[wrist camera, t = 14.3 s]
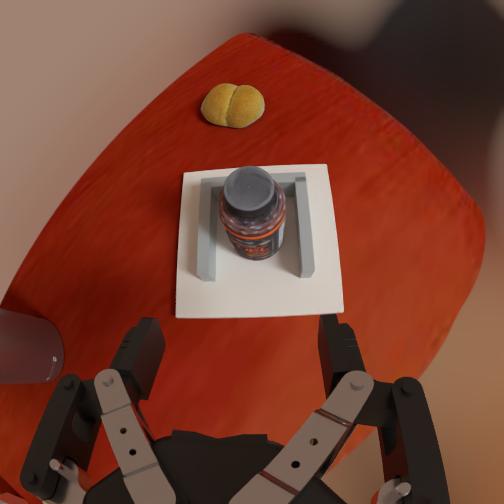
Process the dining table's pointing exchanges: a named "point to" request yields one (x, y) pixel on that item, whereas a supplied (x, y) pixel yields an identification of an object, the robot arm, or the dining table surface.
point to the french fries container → (11, 499)
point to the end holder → (264, 271)
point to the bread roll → (233, 105)
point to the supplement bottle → (253, 212)
